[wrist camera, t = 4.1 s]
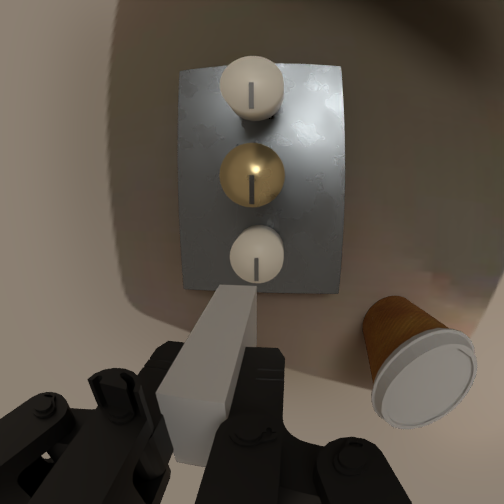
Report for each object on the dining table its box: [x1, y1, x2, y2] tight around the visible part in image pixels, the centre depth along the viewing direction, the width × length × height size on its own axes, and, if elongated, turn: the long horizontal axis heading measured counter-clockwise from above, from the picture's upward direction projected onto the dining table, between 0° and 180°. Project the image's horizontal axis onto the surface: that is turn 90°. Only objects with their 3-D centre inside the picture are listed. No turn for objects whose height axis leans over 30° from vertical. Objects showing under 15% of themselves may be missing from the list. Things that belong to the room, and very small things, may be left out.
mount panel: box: [178, 64, 345, 294], centre depth 25 cm, size 20×14×3 cm
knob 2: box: [230, 225, 284, 283], centre depth 25 cm, size 4×4×6 cm
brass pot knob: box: [219, 143, 285, 207], centre depth 20 cm, size 4×4×6 cm
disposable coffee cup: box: [363, 296, 477, 429], centre depth 23 cm, size 10×10×12 cm
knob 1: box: [220, 56, 284, 121], centre depth 19 cm, size 4×4×6 cm
